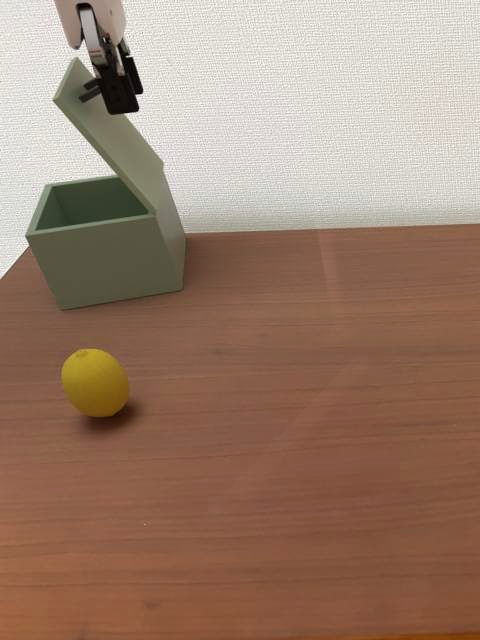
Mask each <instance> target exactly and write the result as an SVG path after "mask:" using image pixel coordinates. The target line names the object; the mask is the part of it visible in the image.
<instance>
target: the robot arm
mask: <svg viewBox="0 0 480 640" xmlns="http://www.w3.org/2000/svg"><path fill="white" fill-rule="evenodd" d="M53 2H54V5H55V8H56V11H57V15H58V17H59V21H60V24H61V26H62V30H63V32H64V35H65V38H66V41H67V42H66V43H67V44H68V46H69V48H71V49H73V50H74V51H77V50H80V48H81V46H82V44H83V42H84V44H85V47H86V50H87V54H88V57H89V61H90V64H91V67H92V69H93V74H94V76H95V77H96V81H97V83H98V86H99V89H100V92H101V95H102V97H103V100H104V103H105V106H106V108H107V111H108V113H109V114H110V115H118V114H125V115H126V114H134V113H139V111H140V104H139V102H138V99H137V96H140V95H142V94H143V93H144V86H143V84H142V80H141V78H140V74H139V71H138V69H137V65H136V62H135V59H134V57H133V56H132V53H131V49H130V46H129V43H128V41H127V39H126V35H125V30H126V27H127V17H126V16H127V15H126V12H125V9H124V5H123V2H122V0H53Z"/></svg>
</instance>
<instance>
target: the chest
mask: <svg viewBox="0 0 480 640" xmlns="http://www.w3.org/2000/svg"><path fill="white" fill-rule="evenodd" d="M24 237H25V240H26V241H27V244H28V246H29V248H30V250H31V252H32V254H33V256H34V258H35V260H36V263H37V264H38V266H39V268H40V270H41V273H42V275H43V277H44V279H45V281H46V283H47V285H48V287H49V289H50V291H51V293H52V296H53V297H54V299H55V302H56V304H57V305H58V307H59V310H60V311H64V310H71V309H77V308H85V307H89V306H97V305H102V304H108V303H114V302H119V301H125V300H132V299H137V298H143V297H151V296H156V295H160V294H161V295H162V294H167V293H174V292H180V291H183V286H184V274H185V263H186V262H185V260H186V251H187V250H186V248H187V235H186V232H185V229H184V226H183V223H182V220H181V217H180V215H179V211H178V209H177V206H176V203H175V199H174V196H173V194H172V191H171V189H170V186H169V182H168V179H167V177H166V173H165V170H164V169H163V174H162V181H161V188H160V195H159V202H158V208H157V211H156V212H154V213H153V214H151V213H150V212H149V211H148V210H147V209H146V208H145V206H144V205H143V204H142V203H141V202H140V201H139V200H138V198H137V197H136V196H135V195H134V194H133V193H132V191H131V190H130V189H129V188H128V187H127V186H126V185H125V183H124V182H123V181H122V180H121V179H120V178H119V177H118V175H117V174H111V175H103V176H96V177H95V176H94V177H89V178H82V179H73V180H66V181H60V182H53V183H46V184H44V186H43V190H42V192H41V194H40V197H39V200H38V202H37V204H36V207H35V210H34V212H33V214H32V217H31V219H30V222H29V225H28V227H27V229H26V232H25V234H24Z"/></svg>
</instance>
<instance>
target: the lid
mask: <svg viewBox="0 0 480 640" xmlns="http://www.w3.org/2000/svg"><path fill="white" fill-rule="evenodd" d="M94 76H95V75H93V74H92V73H91V72H90V70H89V69H88V68H87V66H85V64H84V63H83V61H81V59H80V58H79V56H74V57H72V58H71V60H70V62H69V64H68V65H67V68H66V70H65V72H64V74H63V77H62V79H61V81H60V83H59V85H58V87H57V89H56V91H55V93H54V95H53V98H52V100H51V101H52V102H53V103H54V105H55V106H56V107H57V108H58V109H59V110H60V111H61V112H62V114H63V115H64V116H65V117H66V118H67V120H68V121H69V122H70V123H71V124H72V125H73V126H74V128H76V130H77V131H78V132H79V133H80V134H81V135H82V137H83V138H84V139H85V140H86V141H87V142H88V143H89V145H90V146H91V147H92V148H93V150H95V152H96V153H97V154H98V155H99V156H100V157H101V158H102V160H103V161H104V162H105V163H106V164H107V166H108V167H109V168H110V169H111V170H112V171H113V172H114V174H115V175H118V177H119V178H120V179H121V180H122V181H123V182H124V183H125V185H126V186H127V187H128V188H129V189H130V190H131V191H132V193H133V194H134V195H135V196H136V197H137V198H138V200H139V201H140V202H141V203H142V204H143V205H144V206H145V208H146V209H147V210H148V211H149V212H150V213H151V214H153V213H154V212H156V211H157V208H158V202H159V195H160V188H161V181H162V174H163V170H164V167H165V162H164V161H163V160H162V158H161V157H160V156H159V155H158V153H157V152H156V151H155V149H153V148H152V146H151V145H150V143H149V142H148V141H147V140H146V139H145V138H144V136H143V135H142V134H141V132H139V130H138V129H137V128H136V126H135V125H134V124H133V123H132V122H131V121H130V119H129V118H128V116H127V115H126V114H118V115H110V114H109V113H108V111H107V108H106V106H105V103H104V100H103V97H102V95H101V92H100V89H99V86H98V83H97V81H96V76H95V77H94Z"/></svg>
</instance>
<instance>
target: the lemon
mask: <svg viewBox="0 0 480 640" xmlns="http://www.w3.org/2000/svg"><path fill="white" fill-rule="evenodd" d="M60 377H61V379H60V380H61V385H62V388H63V391H64V394H65V396H66V398H67V399H68V401H69V402H70V404H71V405H72V406H73V407H74V408H75V409H76V410H78V412H80V413H82V414H83V415H86V416H89V417H92V418H93V417H95V418H105V417H113V416H115V414H116V413H117V412H119V411H120V410H122V408H124V406H125V405H126V403H127V402H128V399H129V396H130V389H131V388H130V382H129V378H128V375H127V373H126V371H125V369H124V368H123V366H122V365H121V364H120V363H119V361H118V360H117V359H116V358H115V357H114V356H113V355H112V354H110V353H109V352H106V351H105V350H102V349H98V348H84V349H83V348H81V349H78V350H77V351H76V352H74V353H73V354H71V355H70V356H69V357H68V358H67V359H66V360H65V361H64V364H63V365H62V368H61V375H60Z"/></svg>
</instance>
